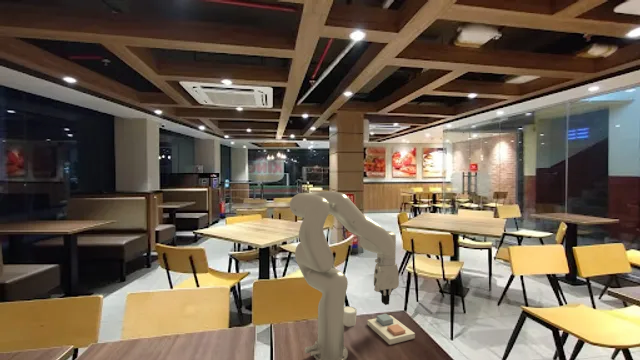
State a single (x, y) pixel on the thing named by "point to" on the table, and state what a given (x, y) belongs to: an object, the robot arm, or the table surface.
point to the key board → (389, 336)
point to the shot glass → (349, 316)
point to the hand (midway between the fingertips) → (385, 303)
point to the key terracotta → (396, 330)
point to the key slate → (384, 319)
